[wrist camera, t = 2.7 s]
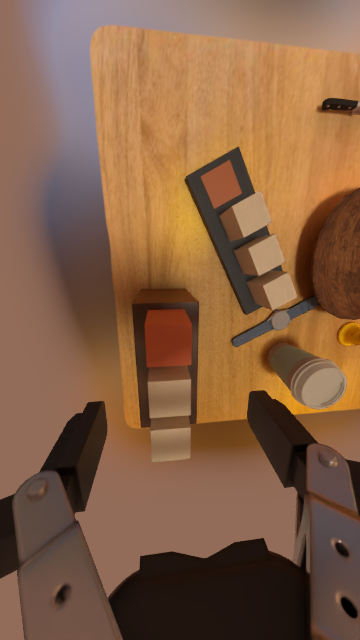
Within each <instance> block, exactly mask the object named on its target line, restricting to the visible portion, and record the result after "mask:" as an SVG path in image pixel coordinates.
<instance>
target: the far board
mask: <svg viewBox="0 0 360 640" xmlns="http://www.w3.org/2000/svg"><path fill="white" fill-rule="evenodd" d="M185 182H186V184H187V186H188V188H189V191H190V193H191V195H192V197H193V200H194V202H195V204H196V207H197V209H198V211H199V213H200V216H201V218H202V220H203V222H204V225H205V227H206V229H207V231H208V234H209V236H210V238H211V241H212V243H213V245H214V247H215V250H216V252H217V254H218V256H219V259H220V261H221V263H222V265H223V268H224V270H225V272H226V275H227V277H228V279H229V281H230V284H231V286H232V288H233V290H234V293H235V295H236V297H237V299H238V302H239V304H240V306H241V309H242V311H243V313H244V314H246V315H247V314H249V313H251V312H253V311H255V310H257V309H259V308H261V307H266V308H268V309H270V310H274V309H276V308H278V307H280V306H282V305H284V304H286V303H288V302H289V301H291V300H293V299H295V298H297V294H296V291H295V288H294V285H293V282H292V280H291V277H290V274H289V272H283V271H282V268H281V266H280V265H281V264H283V263H284V262H285V259H284V256H283V253H282V250H281V247H280V244H279V241H278V239H277V236H276V234H272V235H270V234H269V231H268V229H267V226H266V225H268V224H270V223H272V221H271V218H270V215H269V212H268V209H267V206H266V203H265V200H264V197H263V194H262V192H261V190H260V191H258V192H257V193H255V192H254V189H253V186H252V183H251V180H250V177H249V175H248V172H247V169H246V166H245V163H244V160H243V157H242V155H241V152H240V149H239V147H237V148H235V149H233V150H232V151H230V152H228V153H226V154H225V155H223V156H221V157H219V158H218V159H216V160H214V161H212V162H211V163H209V164H207V165H205V166H204V167H202V168H200V169H198V170H197V171H195V172H193V173H191V174H190V175H188V176H186V179H185Z"/></svg>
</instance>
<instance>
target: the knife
mask: <svg viewBox="0 0 360 640" xmlns="http://www.w3.org/2000/svg"><path fill="white" fill-rule="evenodd" d="M329 109H331V110H342V111H343V110H352V111H351V115H350V116H352V115H353V114H356V115H360V101H353V100H346V99H337V98H329V99H326V100H324V101H323V103H322V110H323V111H324V110H329Z"/></svg>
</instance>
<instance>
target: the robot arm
mask: <svg viewBox="0 0 360 640" xmlns="http://www.w3.org/2000/svg"><path fill="white" fill-rule="evenodd" d="M247 418H248V422H249V425H250V427H251V429H252V431H253V433H254V434H255V436H256V438H257V440H258V441H259V443H260V445H261V447H262V449H263V450H264V452H265V454H266V455H267V457H268V459H269V461H270V463H271V465H272V466H273V468H274V470H275V472H276V473H277V475H278V477H279V479H280V480H281V482H282V484H283V486H284V487H285V488H286V487H295V489H296V490H297V492H298V493H297V499H296V500H297V501H296V521H295V542H294V553H293V560H292V561H290V560H289V559H287V558H285V557H283V556H281V555H279V554H277V553H274V552H271V551H268V549H267V546H266V543H265V540H264V538H261V539H254V540H248V541H240V542H235V543H233V544H231V545H230V546H227V547H226V548H224V549H222V550H221V551H219V552H217V553H215V554H214V555H212V556H210V557H208V558H199V557H195V556H190V555H186V554H181V553H176V552H167V553H159V554H153V555H145V556H140V570H138V571H136V572H134V573H133V574H131V575H130V576H129V577H127V578H126V579H125V580H124V581H123V582H121V584H119V585H118V586H117V587H116V589H115V590H114V591H113V592H112V593H111V594H110V596H109V597H108V598H107V596H106V593H105V590H104V588H103V585H102V582H101V580H100V577H99V574H98V572H97V569H96V566H95V564H94V561H93V558H92V556H91V553H90V550H89V548H88V545H87V542H86V540H85V537H84V534H83V532H82V529H81V527H80V524H79V522H78V521H76V519H75V516H74V515H75V512H82V511H85V508H86V505H87V501H88V498H89V495H90V491H91V488H92V484H93V481H94V478H95V474H96V471H97V467H98V464H99V460H100V457H101V454H102V450H103V447H104V444H105V440H106V436H107V419H106V411H105V404H104V402H103V401H98V402H88V403H87V405H86V407H85V409H84V411H83V413H77V414H75V416H73V417H72V418H71V419H70V420H69V421H68V422H67V424H66V426H65V428H64V429H63V432H62V433H61V435H60V436H59V438H58V440H57V442H56V443H55V445H54V447H53V449H52V451H51V452H50V454H49V456H48V458H47V459H46V461H45V463H44V465H43V467H42V468H41V470H40V472H39V473H37V474H35V475H33V476H32V477H30V478H29V479H28V480H26V481H25V482H24V483H23V484H22V485H21V486H20V487H19V489H18V490H17V491H16V493H15V494H13V495H11V496H8V497H6V498H3V499H1V500H0V578H2V577H4V576H6V575H8V574H10V573H12V572H14V571H16V570H17V576H18V586H19V595H20V604H21V613H22V621H23V630H24V638H25V640H360V462H356V461H351V460H346V459H345V458H344V457H343V456H342V455H341V454H340V453H338V452H337V451H336V450H334V449H332V448H331V447H329V446H326V445H323V444H319V443H318V442H317V441H316V440H315V439H314V438H313V437H312V436H311V435H310V433H309V432H308V431H307V430H306V429H305V428H304V427H303V426H302V424H301V423H300V422H299V421H298V420H297V419H296V418H295V416H294V415H293V414H291V412H290V411H289V410H288V409H287V407H286V406H285V405H284V404H282V403H281V402H279V401H277V400H276V399H272V398H271V397H270V396H269V395H268V394H267V392H266V391H264V390H261V391H251V392H250V394H249V402H248V411H247Z"/></svg>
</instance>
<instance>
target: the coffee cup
mask: <svg viewBox="0 0 360 640" xmlns="http://www.w3.org/2000/svg"><path fill="white" fill-rule="evenodd" d="M267 360H268V363H269V364H270V365H271V367H272V368H273V369H274V371H275V372H276V373H277V374H278V376H279V377H280V378H281V379H282V381H283V382H284V383H285V385H286V386H287V387H288V388H289V390H290V391H291V393H292V396H293V397H294V398H295V399H296V400H297V401H298V402H300V403H301V404H303V405H305V406H308V407H310V408H313V409H324V408H327V407H330V406H332V405H333V404H335V403H336V402H337V401H338V400H339V399H340V398H341V397H342V396H343V394H344V392H345V390H346V387H347V380H346V376H345V375H344V373H343V372H342V371H341V369H340V368H339V367H338V366H337V365H336V364H335V363H334V362H332V361H331V360H328V359H322V358H319V357H317V356H315V355H312V354H310V353H308V352H306V351H303V350H301V349H299V348H296V347H294V346H292V345H289V344H287V343H279V344H276V345H274V346H273V347H272V348H271V349H270V350H269V352H268V356H267Z"/></svg>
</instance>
